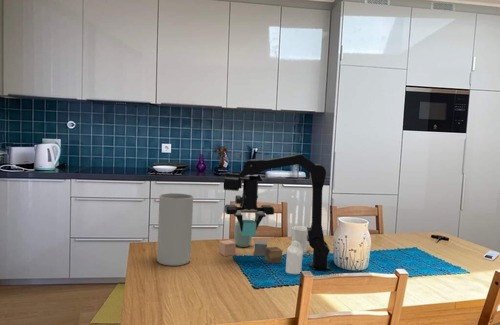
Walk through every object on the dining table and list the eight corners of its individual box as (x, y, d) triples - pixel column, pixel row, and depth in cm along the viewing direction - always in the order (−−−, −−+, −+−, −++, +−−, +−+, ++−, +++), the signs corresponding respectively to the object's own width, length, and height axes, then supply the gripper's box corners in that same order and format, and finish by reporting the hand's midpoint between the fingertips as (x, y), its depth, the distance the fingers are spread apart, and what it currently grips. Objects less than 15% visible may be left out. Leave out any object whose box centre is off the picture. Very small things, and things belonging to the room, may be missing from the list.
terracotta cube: (235, 254, 163) (235, 243, 163) (224, 256, 161) (225, 244, 160) (229, 251, 168) (229, 240, 167) (218, 253, 165) (219, 241, 164)
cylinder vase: (183, 268, 144) (186, 200, 142) (151, 264, 146) (153, 197, 145) (194, 258, 156) (197, 195, 154) (165, 254, 159) (167, 192, 157)
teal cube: (255, 235, 153) (256, 222, 153) (242, 235, 152) (243, 222, 152) (252, 232, 158) (253, 220, 158) (240, 232, 157) (241, 219, 156)
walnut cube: (281, 262, 157) (282, 250, 157) (270, 263, 155) (271, 250, 155) (275, 258, 162) (276, 246, 161) (264, 259, 160) (265, 247, 159)
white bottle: (300, 237, 149) (306, 242, 144) (298, 269, 150) (304, 274, 145) (285, 238, 148) (290, 242, 142) (283, 269, 148) (288, 274, 143)
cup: (252, 244, 180) (253, 222, 180) (250, 249, 173) (251, 226, 172) (235, 242, 181) (236, 221, 180) (232, 247, 173) (233, 225, 173)
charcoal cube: (266, 256, 164) (266, 244, 163) (254, 255, 164) (254, 243, 164) (266, 252, 169) (266, 241, 168) (254, 252, 169) (255, 240, 169)
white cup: (309, 253, 171) (311, 230, 170) (291, 252, 171) (292, 229, 170) (307, 248, 178) (309, 226, 178) (290, 247, 179) (291, 225, 178)
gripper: (267, 189, 164) (265, 226, 165) (223, 188, 159) (221, 226, 161) (275, 193, 153) (273, 233, 154) (227, 192, 149) (225, 233, 150)
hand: (248, 231), depth 155 cm, fingers closed on teal cube, 5 cm apart
